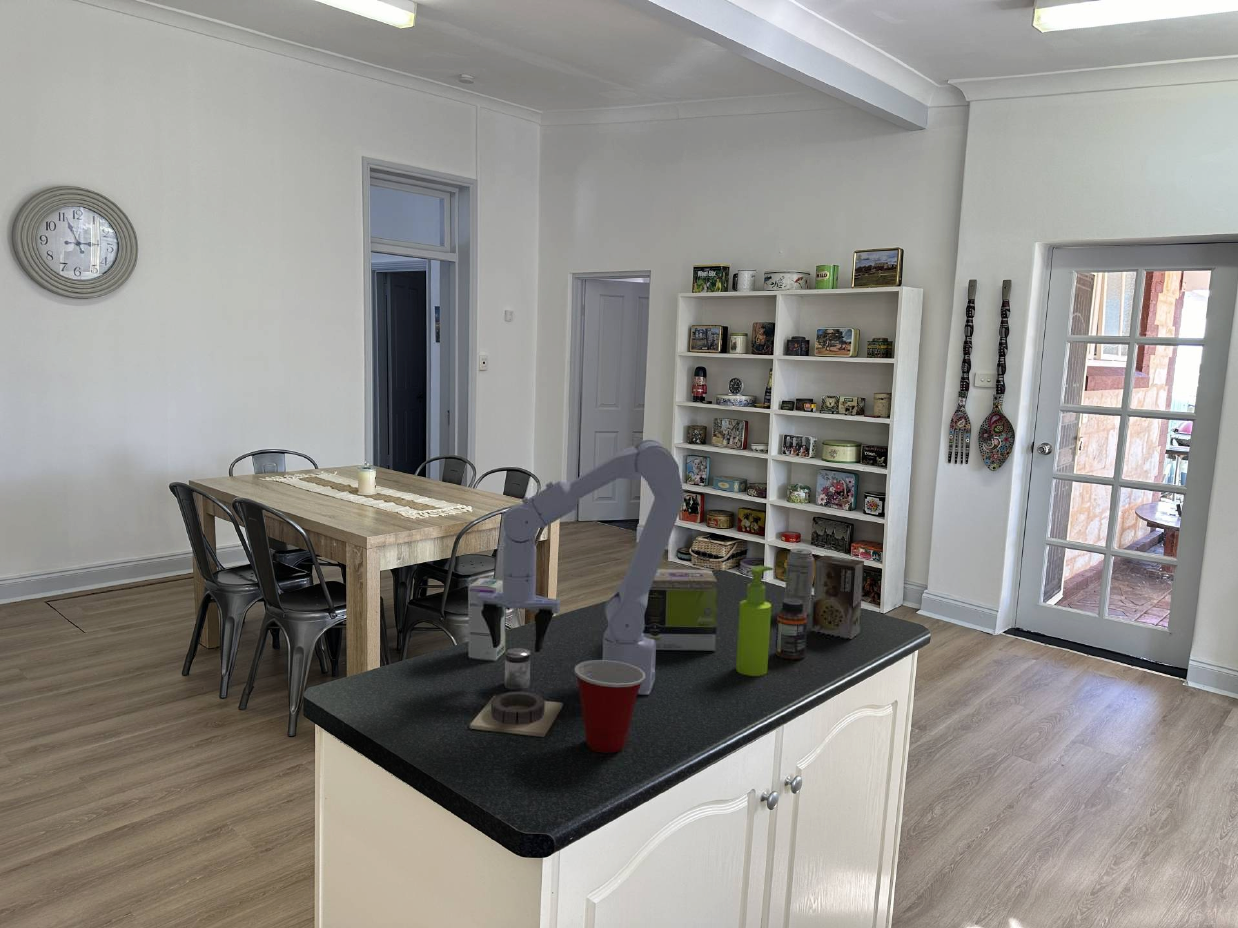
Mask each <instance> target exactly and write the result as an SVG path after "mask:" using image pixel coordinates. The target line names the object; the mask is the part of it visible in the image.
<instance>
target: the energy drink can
mask: <svg viewBox="0 0 1238 928" xmlns="http://www.w3.org/2000/svg"><path fill="white" fill-rule="evenodd" d="M812 553H813V552H812V550H810V549H806V548H791V549H790V552H789V554H787V558H786V570H785V571H786V572H785V589H784V590H785V591H784V599H788V598H792V599H798V600H801V601H803V611H804V612H805V613H806V614H807V615H808V616H809V614H810V613H811V608H812V607H811V606H812V594H813V592H812V591H813V581H814V580H813V578H814V566H815V565H814V564H815V557H814V556H813V554H812Z"/></svg>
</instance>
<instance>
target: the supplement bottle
mask: <svg viewBox="0 0 1238 928" xmlns="http://www.w3.org/2000/svg"><path fill="white" fill-rule="evenodd" d="M807 628H808V616H807V614H806V613H805V612H804V611H803V601H801V600H798V599H792V598H788V599H785V598H784V599H783V600H782V607H781V609H779V610H778V611H777V614H776V629H775V630H776V632H775V646H774V647H775V648H774V649H775V655H776V656H777V657H778V658H780V659H781V658H782V659H785V660H789V659H791V660H790V661H793V660H794V659H796V660H801V659H803V658H804V657H805V656H806V647H807V646H806V645H807V644H806V643H807V641H806V640H807V630H808V629H807ZM794 661H795V660H794Z"/></svg>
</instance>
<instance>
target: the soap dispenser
mask: <svg viewBox="0 0 1238 928" xmlns="http://www.w3.org/2000/svg"><path fill="white" fill-rule="evenodd" d="M773 569H774V568H773V567H771V566H766V565H755V566H753V567H752V568H749V569H748V572H749V573H750V574H752V578H751V579H752V580H751V581H752V582H749V583H748V584H747V587H746V588H747V589H746V599H743V600H740V601H739V609H738V610H739V612H738V625H737V626H738V629H737V644H736V665H735V670H736V672H738V673H739V674H741V675H745V676H750V677H760V676H761V675H762V676H765V675H767V673H768V665H769V664H768V663H769V649H770V632H771V619H772V617H771V615H772V611H771V610H772V604H771V603H770V602H768V601H766V589H767V587H766V585H764V584H763V583H762V578H763V577H762V576H763V573H764V572H767V571H773ZM764 674H765V675H764Z"/></svg>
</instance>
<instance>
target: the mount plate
mask: <svg viewBox="0 0 1238 928" xmlns="http://www.w3.org/2000/svg"><path fill="white" fill-rule="evenodd" d="M562 708H563V702H559V701H558V702H557V701H546V700H544V698H543V696H541V695H539V694H536V693H534V692H530V691H521V690H518V691H517V690H515V691H508V692H506V693H505V692H503V693H500V694H498V695H492V698H491V699H490V700H489V701H488V702H487V703H486V705H485V706H484V707H483V709H481V711H480V712H479V713H478V714H477V715H476V717H475V718H474V719H473V720H472V721H471V723H470V724H469V729H472V730H481V731H488V732H489V731H490V732H498V733H506V734H514V735H515V734H516V735H523V736H524V735H525V736H533V737H542V738H545V736H546V735H547V733H548V731H549V729H550V727H551V726H552V724H553V722H554V721H555V720H556V718H557V716H558V715H559V713H560V711H561V710H562Z"/></svg>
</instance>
